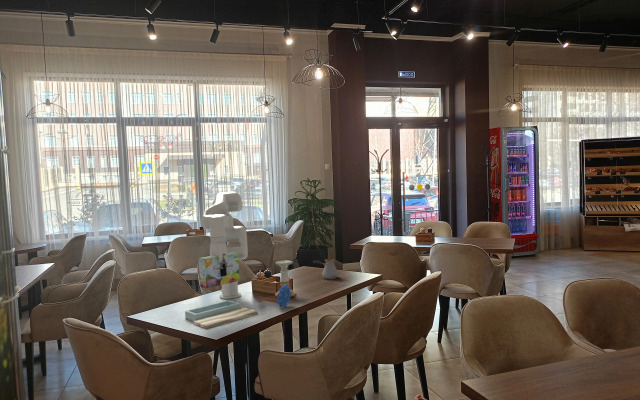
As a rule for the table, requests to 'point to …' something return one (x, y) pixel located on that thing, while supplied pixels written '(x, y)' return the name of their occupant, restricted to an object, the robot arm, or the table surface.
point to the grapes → (283, 296)
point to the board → (225, 317)
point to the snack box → (218, 271)
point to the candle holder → (284, 275)
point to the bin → (211, 310)
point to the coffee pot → (329, 269)
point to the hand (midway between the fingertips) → (220, 275)
